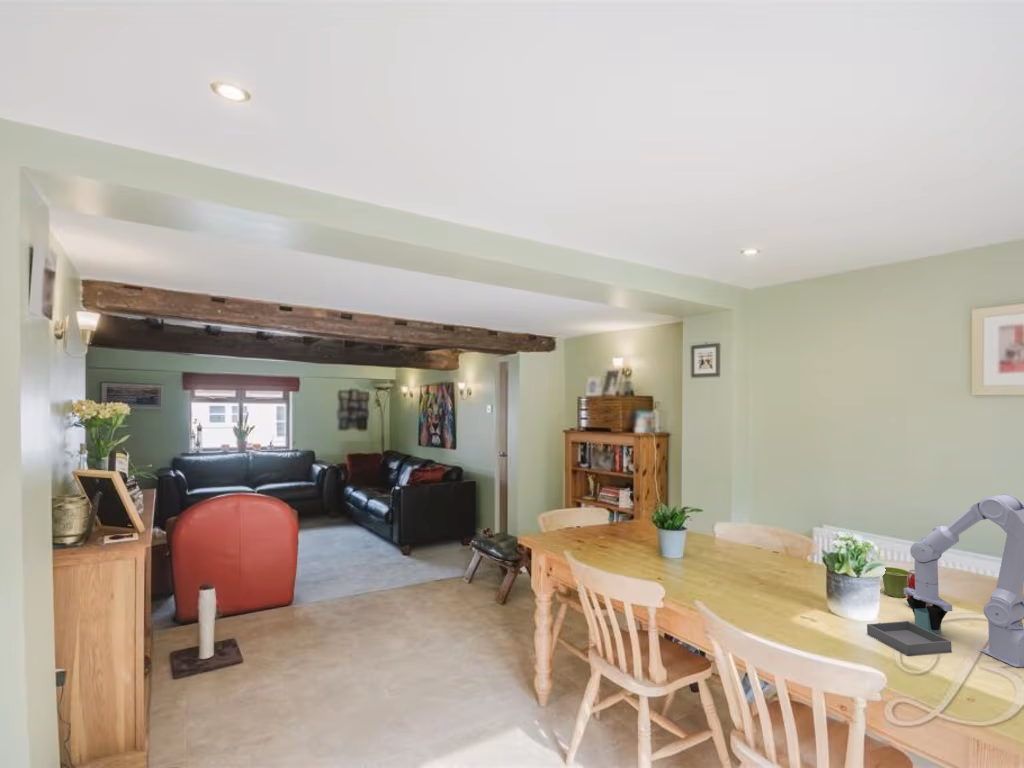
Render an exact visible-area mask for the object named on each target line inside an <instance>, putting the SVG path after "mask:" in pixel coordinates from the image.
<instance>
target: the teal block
mask: <svg viewBox="0 0 1024 768" xmlns="http://www.w3.org/2000/svg"><path fill="white" fill-rule="evenodd" d="M914 615H915V616H914ZM913 616H914V624H915V625H917V626H919V627H922V628H924V629H926V630H928V631H930V632H932V633H941V634H942V624H941V625H940V629H939V630H932V629H931V624H930V616H929V613H928V610H927V608H919V609H914V613H913Z"/></svg>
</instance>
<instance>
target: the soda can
mask: <svg viewBox="0 0 1024 768" xmlns="http://www.w3.org/2000/svg"><path fill="white" fill-rule="evenodd" d="M908 571H909V572H910V573H909V574H908V575H907V588H911V589H914V590H915V569H910V570H908ZM910 597H911V596H910V595H907V598H910ZM907 603H908V602H907ZM907 605H909V603H908V604H907ZM926 606H933V605H932V604H929V603H927V604H926Z"/></svg>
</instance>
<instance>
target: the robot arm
mask: <svg viewBox="0 0 1024 768" xmlns="http://www.w3.org/2000/svg"><path fill="white" fill-rule="evenodd" d="M983 520H985V521H986V520H988V521H991V522H993V523H994V524H996V525H997V526H999V527H1000V528H1001V529H1002V530H1003V531H1004V533H1006V539H1005V543H1004V549H1003V553H1002V557H1001V564H1000V568H999V573H998V578H997V583H996V587H995V589H994V591H992V594H991V595H990V598H989V601H988V602H987V603H985V604H984V606H983V615H984V617H985V618H986V619H987V621H988V623H987V624H988V648H981V649H980V652H981V653H984V654H986V655H988V656H991V657H993V658H995V659H997V660H999V661H1001V662H1003V663H1006V664H1007V665H1011V666H1012V667H1014V668H1022V667H1023V668H1024V623H1023V620H1024V594H1023V590H1024V503H1023V502H1022V501H1020V500H1019V498H1018V497H1016V496H1014V495H1012V494H1007V493H1003V494H999V495H994V496H987V497H983V498H982V499H981V500H980V501H978V502H975V503H974V504H973V505H972V506H970V507H969V508H968V509H966V511H964V512H963V513H962V514H961V515H960V516H958V517H957V518H956V519H955V520H954V521H952V522H951V523H950V524H949V525H948V526H947V525H946V526H945V525H940V526H934V527H932V528H931V529H932V532H931V533H929V534H928V535H926V536H922V538H920V540H921V542H919V541H918V542H914V543H913V544H912V545H911V546H910V549H909V551H910V555H911V557H912V558H913V559H914V570H915V590H914V589H911V588H904V594H905V595H906V596H908V595H910V596H911V597H910V598H908V597H906V601H907V603H909V604H908V606H910V608H911V611H912V613H913V616H914V617H915V615H914V609H919V608H927V610H928V613H929V616H930V624H931V629H932V630H939V629H940V625H941V626H942V622H943V620H944V617H945V616H946V615H947V614H948V613H949V612H953V604H951V603H950V602H947V601H946V600H944V599H943V598H941V597H940V596H939V595H940V594H939V567H938V566H939V565H938V564H939V563H938V561H939V560H940V558H942V555H943V554H944V553H946V552H947V551H948V550H949V549H950V548H952V547H953V546H955V545H956V544H957V543H959V541H960V537H959V536H960V535H961V534H963V532H965V531H967V530H968V529H970V528H971V527H973V526H974V525H976V524H977V523H979V522H980V521H983ZM927 603H929V604H932V605H933V606H926V604H927Z"/></svg>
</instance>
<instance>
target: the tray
mask: <svg viewBox="0 0 1024 768" xmlns="http://www.w3.org/2000/svg"><path fill="white" fill-rule="evenodd" d="M866 632H867V635H868V636H870V637H872V638H873V637H874V638H873V639H875V638H876V640H877V639H878V641H879V642H882V644H885V645H886V646H888V647H891V648H892V649H894V650H896V651H897V652H900V653H901V654H904V655H905V656H908V657H910V656H911V657H912V656H923V655H933V654H943V653H944V654H945V653H946V654H948V653H952V640H950V639H947V638H946V637H944V636H941V635H939V634H935V633H932V632H930V631H928V630H926V629H924V628H922V627H919V626H917V625H915V623H913V622H911V621H909V620H902V621H888V622H877V623H866Z"/></svg>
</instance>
